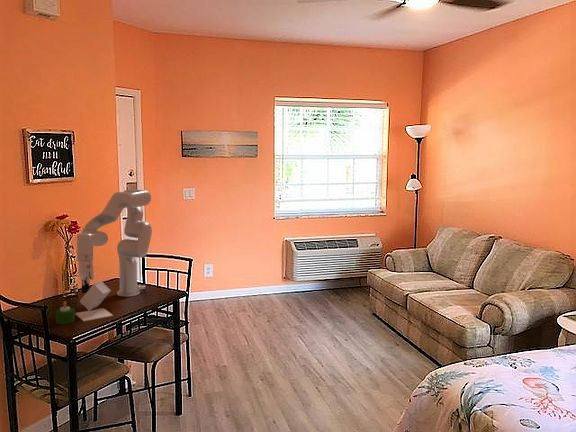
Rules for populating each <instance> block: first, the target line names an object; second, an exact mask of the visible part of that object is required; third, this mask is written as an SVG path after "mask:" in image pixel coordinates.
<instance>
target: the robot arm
mask: <svg viewBox="0 0 576 432" xmlns="http://www.w3.org/2000/svg"><path fill="white" fill-rule="evenodd" d="M151 201H152V195H151V193H150V192H149V191H148V190H145V189H133V188H132V189H126V190H123V191H115V192H114V193H113V194H112V195H111V197H110V199H109V200H108V202H107V203H106V205H105V207H104V208H103V209H102V211H101V212H100V213H98V214H96V216H94V217H93V218H91V219H90V220H89V221H88V222H87V223H86V224H85V225H84V227H83V228H82V231H81V232H79V233H77V235H76V261H78V267H77V268H78V269H77V270H78V271H77V273H78V277H79V278H80V279H81V293H82V294H86V293H87V292H88V290H89V289H90V283H91V280H92V281H93V280H94V277H95V276H94V263H93V260H94V247H102V246H104V245H106V244H107V243H108V241H109V236H108V234H107V233H106V232H105V231H100V230H98V229H100V228H103V227H104V226H106V225H109V224H112V223H114V222H116V221H118V219H119V217H120V215H121V214H122V212H123V210H124V209H127V214H126V215H127V216H126V221H125V225H124V228H123V233H124V235H125V236H127V237H128V238H127V239H126V238H125V239H122V240H119V242H118V243H117V245H116V250H117V254H118V263H119V290H118V291H117V292H116V295H117V296H118V297H124V298H126V297H136V296H138V295H140V293H141V290H145V289H146V285H145V284H143V285H138V262H137V259H138V258H139V259H141V258H145V256H147V254H148V253H149V248H150V247H149V246H150V244H151V239H152V235H153V228H152V226H151V223H149V222H145V221H143V217H144V210H143V208H142V207H145V206H148V205H149V204H150V203H151ZM129 238H133V239H129ZM136 239H137V240H136ZM136 258H137V259H136Z"/></svg>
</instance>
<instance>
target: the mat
mask: <svg viewBox="0 0 576 432" xmlns="http://www.w3.org/2000/svg"><path fill="white" fill-rule="evenodd" d="M75 316H76V317H78V318H79V319H80V320H81V321H82V322H88V321H93V320H99V319H105V318H110V317H113V316H114V315H113V314H112V313H111V312H109V311H108V310H107V309H106V308H104V307H102V308H97V309H96V308H95V309H92V310H90V311H89V310H86V311H80V312H75Z"/></svg>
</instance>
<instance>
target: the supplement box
mask: <svg viewBox="0 0 576 432" xmlns="http://www.w3.org/2000/svg"><path fill="white" fill-rule="evenodd" d="M111 292H112V290H111V289H110V288H109V287H108V286H107V285H106V284H105V283H104V282H103V281H99V282H95V283H93V284H92V285H91V287H89V290H88V292H87V293H84V295H83V297H82V298H80V300H79V303H81V305H82V306H84V307H85V308H86V310H87V311H90V310H95V309H96V308H97V307H98V308H99V306H100V305H101V303H102V302H103V301H104V299H106V297H107V296H108V295H109V294H110V293H111Z"/></svg>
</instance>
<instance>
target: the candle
mask: <svg viewBox="0 0 576 432" xmlns="http://www.w3.org/2000/svg"><path fill="white" fill-rule="evenodd" d="M67 304H68V302H67V301H66V300H65V301H63V302H62V305H63V306H61V307H60V308H57V309H56V310H55V323H56V324H58V325H69V324H71V323H72V324H73V323H74V322H75V321H76V314H75V313H76V312H75V311H76V310H75V308H73V307H70V306H69V305H68V306H67Z"/></svg>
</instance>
